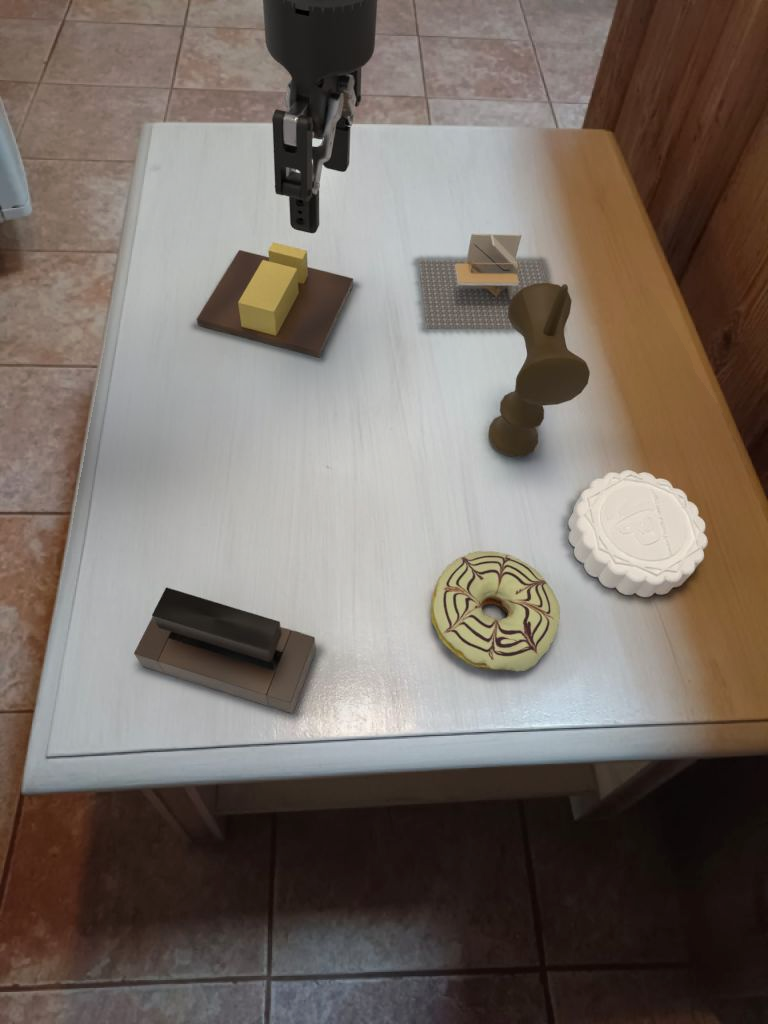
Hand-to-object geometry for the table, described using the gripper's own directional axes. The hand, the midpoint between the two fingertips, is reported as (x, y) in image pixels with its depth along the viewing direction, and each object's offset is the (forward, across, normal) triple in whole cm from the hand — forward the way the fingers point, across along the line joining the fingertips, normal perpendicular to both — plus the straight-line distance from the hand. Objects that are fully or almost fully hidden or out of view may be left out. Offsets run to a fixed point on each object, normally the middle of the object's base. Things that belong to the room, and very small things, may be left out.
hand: (320, 197), depth 60 cm
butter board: (+20, -7, -7) cm, 22 cm away
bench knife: (+20, +33, +3) cm, 39 cm away
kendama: (+20, +4, +21) cm, 29 cm away
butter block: (+19, -5, -7) cm, 21 cm away
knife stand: (+20, +33, +3) cm, 39 cm away
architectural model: (+20, -16, +15) cm, 30 cm away
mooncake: (+20, +12, +34) cm, 41 cm away
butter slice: (+19, -11, -7) cm, 23 cm away
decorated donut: (+20, +24, +23) cm, 39 cm away
